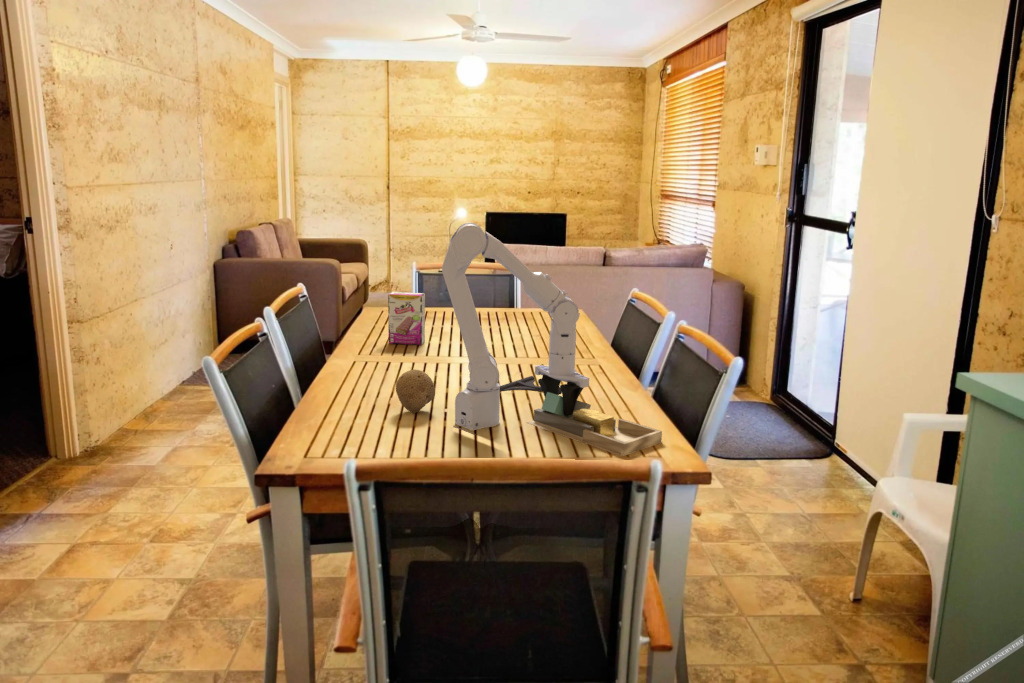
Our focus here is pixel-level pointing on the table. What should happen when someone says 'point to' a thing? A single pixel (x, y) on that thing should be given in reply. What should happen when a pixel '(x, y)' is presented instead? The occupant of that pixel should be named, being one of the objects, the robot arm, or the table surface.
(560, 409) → the two-tone l-shaped block
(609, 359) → the table surface
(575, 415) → the golden brown cube
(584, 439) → the slot board
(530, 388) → the bracket
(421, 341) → the candy bar box
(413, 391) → the natural sponge
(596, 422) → the yellow cube
